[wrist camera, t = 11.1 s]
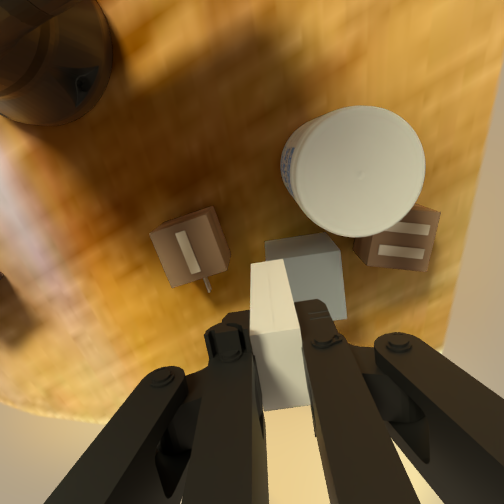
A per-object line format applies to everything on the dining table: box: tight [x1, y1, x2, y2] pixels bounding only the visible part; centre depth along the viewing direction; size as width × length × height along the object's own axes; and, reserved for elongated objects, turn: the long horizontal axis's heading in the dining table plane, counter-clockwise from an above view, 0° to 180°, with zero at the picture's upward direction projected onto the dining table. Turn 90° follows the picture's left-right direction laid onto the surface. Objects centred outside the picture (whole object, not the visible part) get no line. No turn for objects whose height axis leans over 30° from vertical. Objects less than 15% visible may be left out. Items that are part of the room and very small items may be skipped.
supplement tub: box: [280, 106, 425, 237], centre depth 33 cm, size 10×10×15 cm
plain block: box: [265, 232, 347, 321], centre depth 40 cm, size 7×7×8 cm
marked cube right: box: [353, 204, 441, 272], centre depth 39 cm, size 6×6×6 cm
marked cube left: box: [149, 206, 231, 293], centre depth 40 cm, size 6×8×6 cm
